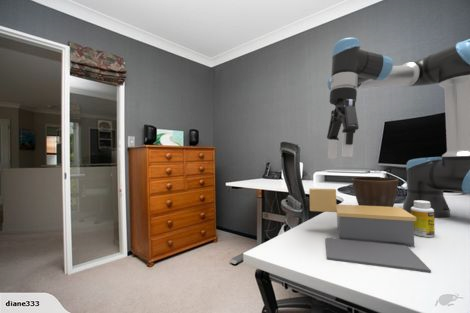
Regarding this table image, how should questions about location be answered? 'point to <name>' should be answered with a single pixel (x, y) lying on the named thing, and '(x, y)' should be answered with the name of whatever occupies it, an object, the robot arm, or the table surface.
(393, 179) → the plant pot
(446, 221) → the table surface
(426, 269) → the grey rubber mat
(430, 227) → the supplement bottle
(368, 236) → the charcoal tub
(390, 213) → the amber lid
